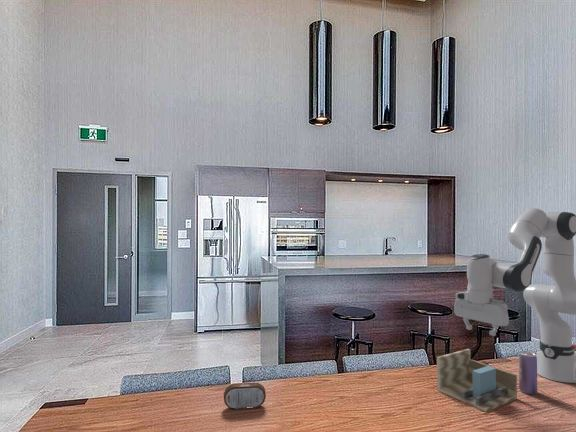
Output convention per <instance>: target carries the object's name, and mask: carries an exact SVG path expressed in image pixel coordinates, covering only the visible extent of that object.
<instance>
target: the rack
mask: <svg viewBox="0 0 576 432" xmlns="http://www.w3.org/2000/svg"><path fill="white" fill-rule="evenodd" d="M486 366H490V367H493V368H496V390H494V391H492V392H489V393H486V394H484V395H481V396H479V397H476V399H474V398H473V380H472V371H473V370H477V369H480V368H483V367H486ZM517 378H518V375H517V374H516V373H514V372H513V373H512V372H511V371H510V372H509V371H507V370H504V369H500V368H498V367H495V366H492V365H489V364H486V363H483V362H480V361H478V360H474V359H471V349H470V348H465V349H462V350H459V351H458V350H457V351H455V352H449V353H447V354H443V355H439V356H436V390H437V391H439V392H441V393H443V394H445V395H447V396H449V397H452V398H453V399H456V400H459V401H461V402H462V403H465V404H467V405H469V406H471V407H472V408H473V407H474V408H476V409H477V410H480V411H483V412H485V413H487V412H489V411H491V410H494V409H496V408H499V407H501V406H502V405H503V406H504V405H506V404H508V403H511V402H513V401H515V400H517V399H518V380H517Z"/></svg>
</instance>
